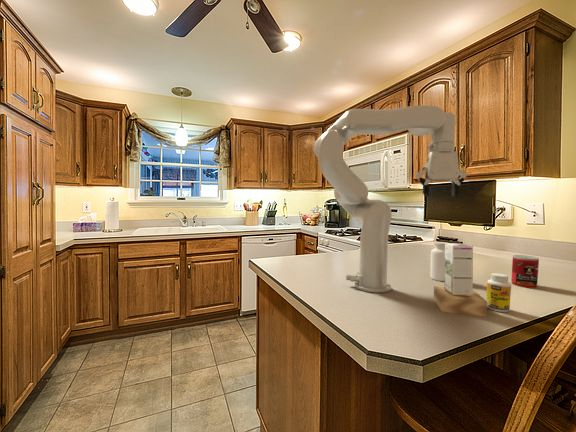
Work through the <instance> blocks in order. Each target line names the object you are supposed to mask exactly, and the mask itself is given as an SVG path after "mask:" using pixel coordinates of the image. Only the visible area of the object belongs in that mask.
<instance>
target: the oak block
mask: <svg viewBox="0 0 576 432" xmlns="http://www.w3.org/2000/svg"><path fill="white" fill-rule="evenodd" d="M444 288H445V287H444V286H433V300H434V302H435V304H436V305H437V307H438V308H439V310H440V311H441V312H444V313H452V314H453V313H454V314H461V315H469V316H470V315H471V316H479V317H487V313H488V312H487V311H488V308H487V301H486V299H485V298H484V297H482V296H481V295H480V294H479V293H478V292H476V291H475V290H474V289H473V295H472V296H465V295H453V294H451V293H449V292H448V291H446V290H445V289H444Z"/></svg>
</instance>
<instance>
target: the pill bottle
mask: <svg viewBox="0 0 576 432" xmlns="http://www.w3.org/2000/svg"><path fill="white" fill-rule="evenodd" d="M445 243H446V244H448V243H449V242H445V241H436V242H434V248H433V249H431V251H430V267H429V268H430V279H432V280H433V281H438V282H445Z"/></svg>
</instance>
